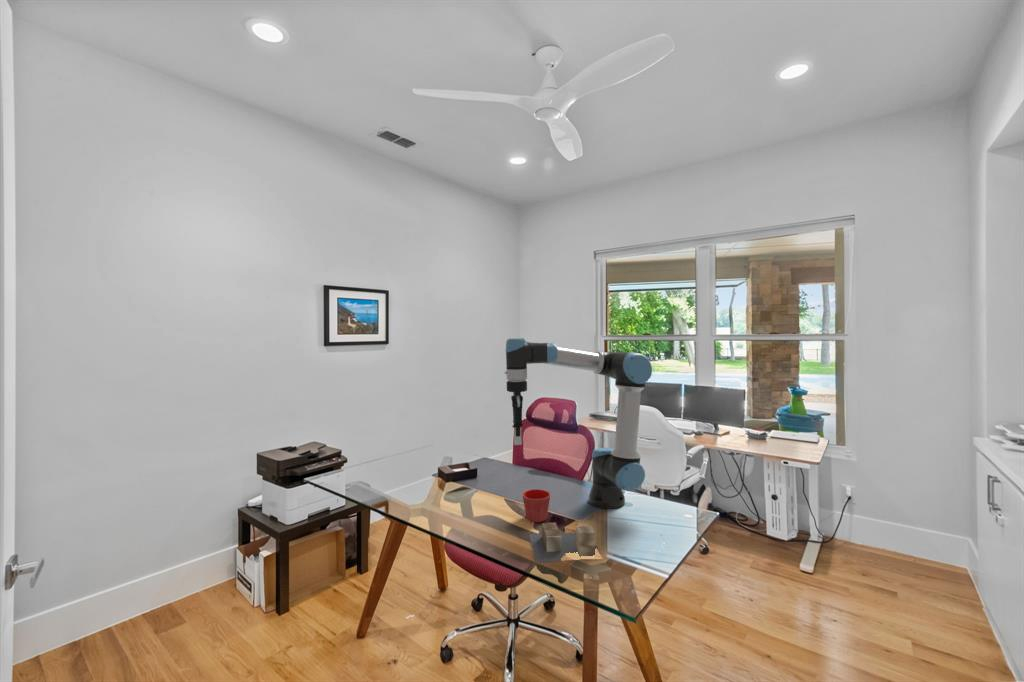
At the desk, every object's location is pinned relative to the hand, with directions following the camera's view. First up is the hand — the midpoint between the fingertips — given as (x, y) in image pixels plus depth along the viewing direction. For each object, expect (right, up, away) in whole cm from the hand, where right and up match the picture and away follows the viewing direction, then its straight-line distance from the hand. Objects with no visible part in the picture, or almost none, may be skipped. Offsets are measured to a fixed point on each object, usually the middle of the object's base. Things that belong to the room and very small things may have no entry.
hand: (517, 444), depth 168 cm
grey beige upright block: (+22, -32, -18) cm, 43 cm away
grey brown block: (+12, -30, -16) cm, 36 cm away
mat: (+16, -32, -12) cm, 38 cm away
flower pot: (+8, -32, +12) cm, 35 cm away
